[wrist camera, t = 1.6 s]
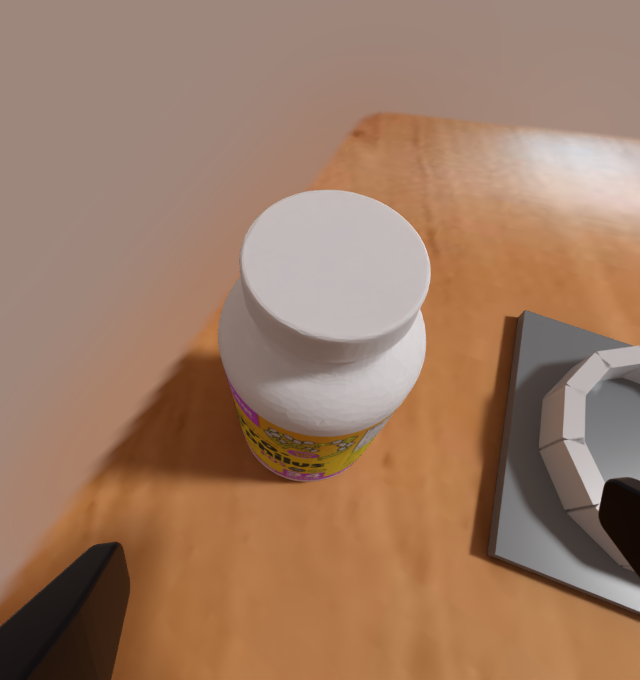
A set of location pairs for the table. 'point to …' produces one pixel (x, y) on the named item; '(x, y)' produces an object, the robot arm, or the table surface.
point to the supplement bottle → (323, 329)
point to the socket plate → (527, 480)
